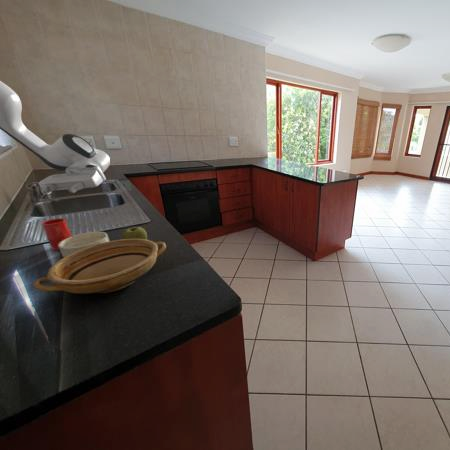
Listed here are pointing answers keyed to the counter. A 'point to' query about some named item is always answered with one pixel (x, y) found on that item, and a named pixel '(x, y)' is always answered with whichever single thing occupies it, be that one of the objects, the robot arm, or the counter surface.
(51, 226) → the fries cup
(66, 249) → the serving bowl
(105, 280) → the wicker basket
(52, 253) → the counter surface
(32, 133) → the robot arm
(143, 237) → the apple
